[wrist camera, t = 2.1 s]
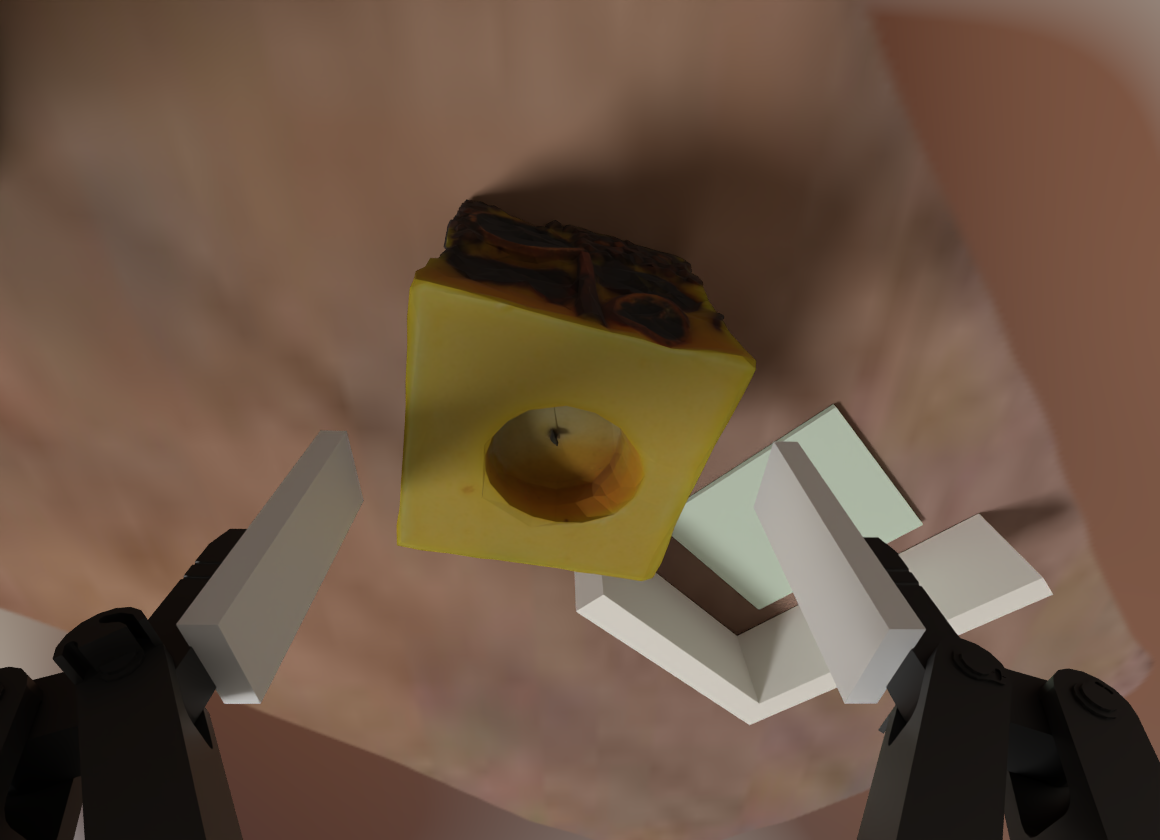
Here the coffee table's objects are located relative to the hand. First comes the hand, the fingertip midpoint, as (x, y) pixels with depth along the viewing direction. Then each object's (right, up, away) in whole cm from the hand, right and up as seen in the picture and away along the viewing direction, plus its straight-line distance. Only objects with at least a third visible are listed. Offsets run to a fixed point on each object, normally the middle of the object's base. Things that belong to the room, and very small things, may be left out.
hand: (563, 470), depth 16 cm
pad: (+14, -5, +16) cm, 21 cm away
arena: (+13, -5, +16) cm, 21 cm away
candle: (-1, +6, +8) cm, 10 cm away
